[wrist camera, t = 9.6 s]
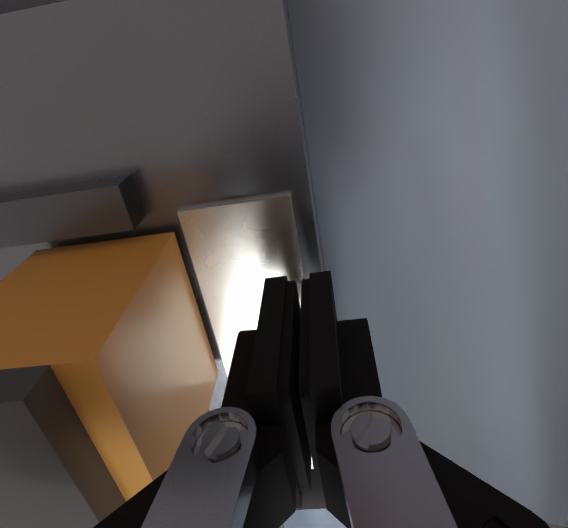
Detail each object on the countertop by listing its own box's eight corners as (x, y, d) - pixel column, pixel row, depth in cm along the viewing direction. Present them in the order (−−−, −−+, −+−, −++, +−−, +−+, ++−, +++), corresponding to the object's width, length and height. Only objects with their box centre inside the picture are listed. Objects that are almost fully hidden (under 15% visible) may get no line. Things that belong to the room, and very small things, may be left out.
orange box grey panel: (174, 232, 12) (71, 396, 7) (218, 372, 14) (167, 570, 9) (36, 250, 12) (-158, 416, 7) (101, 382, 15) (-8, 576, 10)
